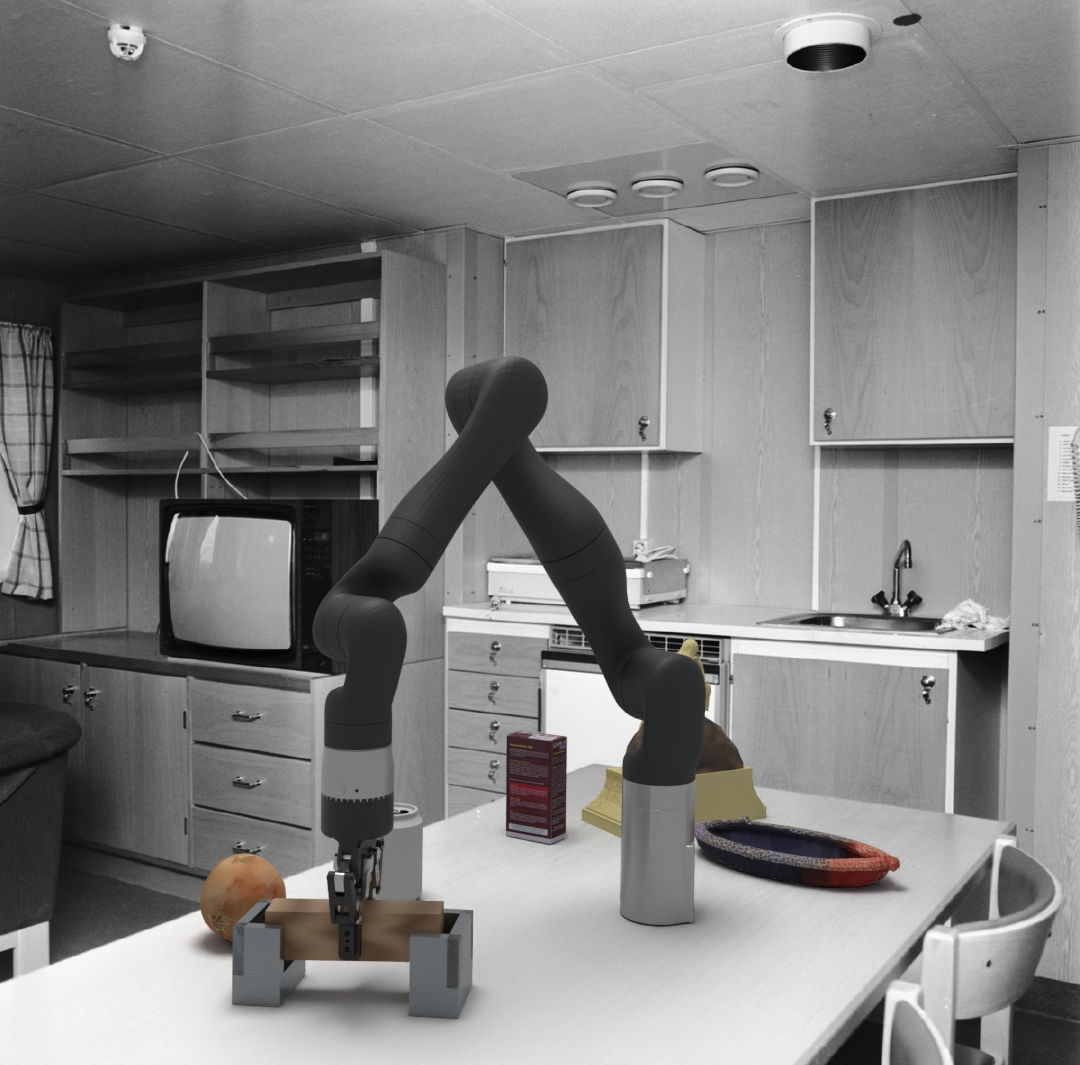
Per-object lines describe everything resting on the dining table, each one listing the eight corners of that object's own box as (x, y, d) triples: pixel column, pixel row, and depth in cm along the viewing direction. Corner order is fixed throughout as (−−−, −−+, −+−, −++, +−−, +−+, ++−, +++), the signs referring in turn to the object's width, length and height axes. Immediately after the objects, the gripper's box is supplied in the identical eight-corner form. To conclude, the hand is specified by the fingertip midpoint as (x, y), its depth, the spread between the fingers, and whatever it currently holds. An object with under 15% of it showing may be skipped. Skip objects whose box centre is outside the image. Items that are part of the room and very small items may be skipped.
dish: (722, 838, 181) (722, 806, 181) (915, 880, 162) (916, 844, 162) (669, 861, 169) (669, 827, 169) (872, 909, 150) (872, 871, 150)
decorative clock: (716, 801, 204) (720, 630, 203) (766, 818, 193) (769, 638, 192) (581, 821, 189) (584, 638, 189) (626, 841, 178) (629, 646, 178)
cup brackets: (472, 984, 124) (473, 910, 124) (458, 1018, 116) (459, 939, 115) (260, 971, 127) (261, 898, 126) (232, 1004, 118) (232, 926, 118)
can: (411, 911, 146) (412, 817, 146) (355, 906, 147) (356, 812, 147) (429, 892, 153) (430, 802, 153) (375, 887, 155) (376, 798, 154)
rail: (443, 947, 123) (443, 901, 123) (439, 962, 119) (440, 914, 119) (274, 944, 123) (274, 898, 123) (264, 959, 119) (265, 911, 119)
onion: (299, 927, 140) (300, 845, 140) (263, 959, 130) (264, 870, 130) (225, 920, 142) (225, 839, 142) (184, 951, 132) (184, 864, 132)
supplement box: (567, 838, 179) (569, 735, 179) (550, 845, 175) (552, 740, 175) (520, 829, 184) (522, 729, 183) (503, 836, 180) (505, 734, 179)
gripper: (375, 806, 113) (373, 980, 114) (408, 772, 127) (406, 927, 128) (301, 803, 114) (299, 975, 114) (341, 770, 128) (340, 924, 129)
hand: (356, 949), depth 121 cm, fingers closed on rail, 4 cm apart
